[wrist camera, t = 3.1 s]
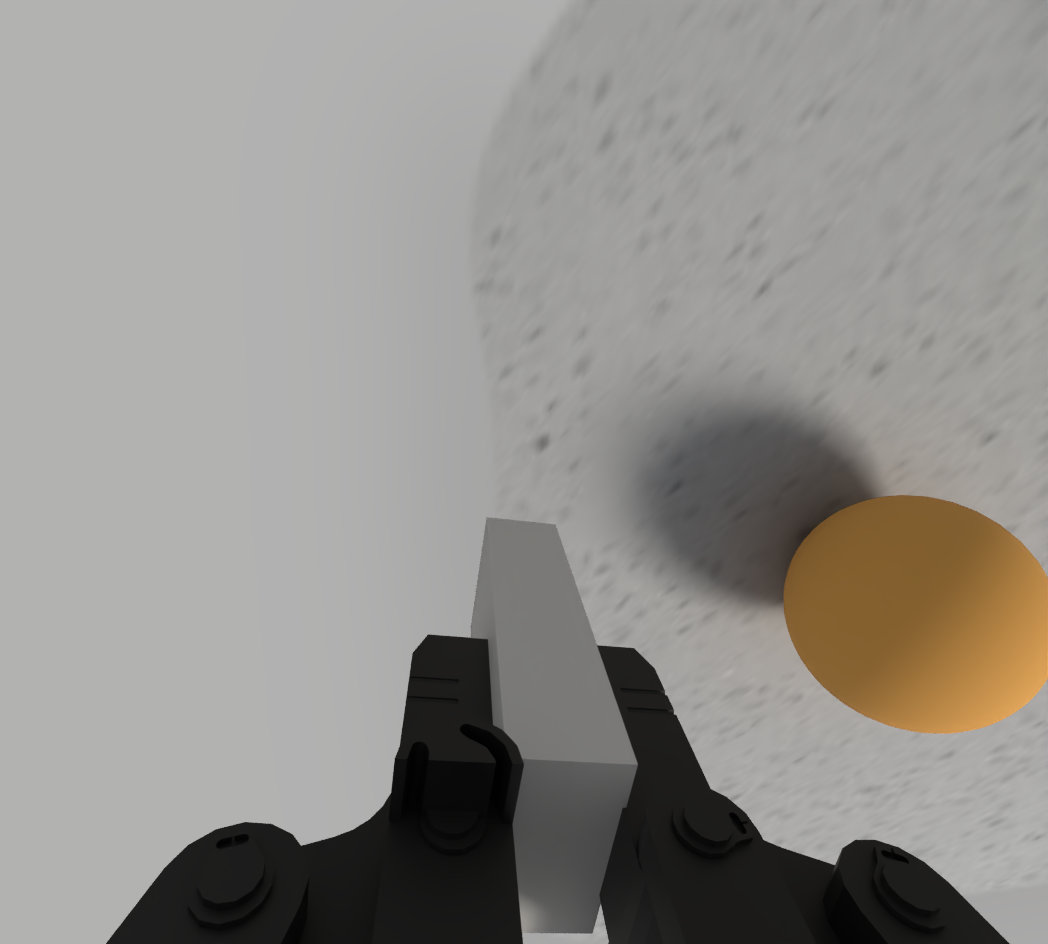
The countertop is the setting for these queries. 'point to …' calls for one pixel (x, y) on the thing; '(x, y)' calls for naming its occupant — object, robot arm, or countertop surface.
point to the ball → (919, 614)
